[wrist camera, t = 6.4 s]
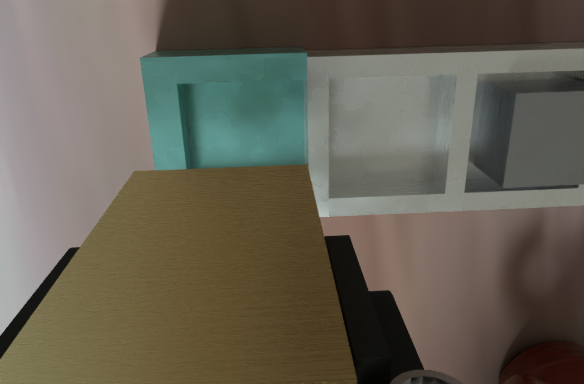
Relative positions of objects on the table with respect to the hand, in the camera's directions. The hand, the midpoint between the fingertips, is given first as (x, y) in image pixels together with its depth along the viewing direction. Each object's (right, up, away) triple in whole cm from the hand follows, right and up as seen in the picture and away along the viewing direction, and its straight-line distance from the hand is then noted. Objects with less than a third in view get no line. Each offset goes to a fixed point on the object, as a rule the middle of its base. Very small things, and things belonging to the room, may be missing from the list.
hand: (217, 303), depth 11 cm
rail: (+6, +6, +16) cm, 18 cm away
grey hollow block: (+14, +6, +15) cm, 21 cm away
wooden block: (0, +1, +3) cm, 3 cm away
